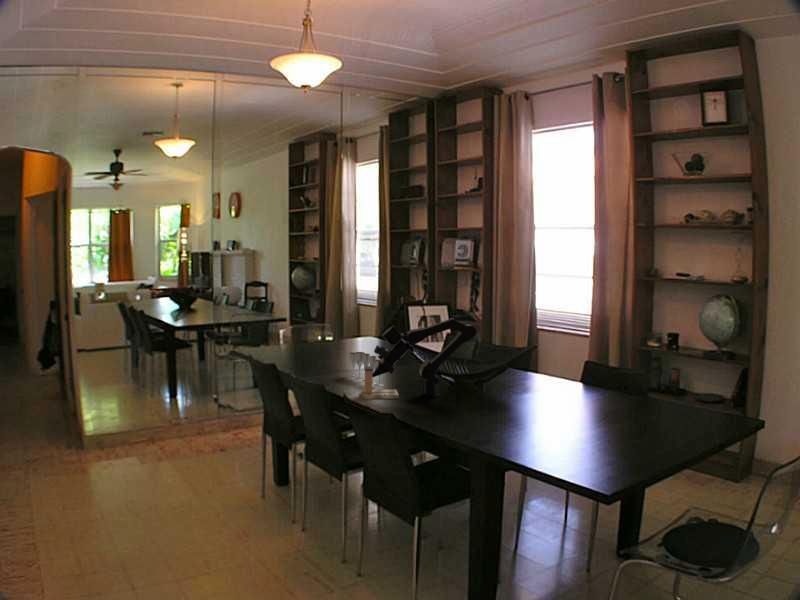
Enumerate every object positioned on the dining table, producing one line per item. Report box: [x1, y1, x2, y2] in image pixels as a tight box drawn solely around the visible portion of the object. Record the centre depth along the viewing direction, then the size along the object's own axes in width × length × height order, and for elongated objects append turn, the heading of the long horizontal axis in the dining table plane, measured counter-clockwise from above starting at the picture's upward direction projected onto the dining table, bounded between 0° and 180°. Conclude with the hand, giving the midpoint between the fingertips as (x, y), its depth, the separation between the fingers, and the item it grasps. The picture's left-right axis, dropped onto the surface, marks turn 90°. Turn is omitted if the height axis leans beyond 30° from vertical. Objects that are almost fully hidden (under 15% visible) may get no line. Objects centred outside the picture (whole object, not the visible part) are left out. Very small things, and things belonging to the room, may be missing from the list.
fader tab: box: [363, 365, 373, 393], centre depth 269 cm, size 4×6×11 cm, turn 7°
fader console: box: [360, 389, 400, 400], centre depth 270 cm, size 16×10×2 cm, turn 97°
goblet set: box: [348, 351, 385, 387], centre depth 298 cm, size 28×6×13 cm, turn 38°
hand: (372, 376), depth 269 cm, fingers closed, pressing on fader tab
